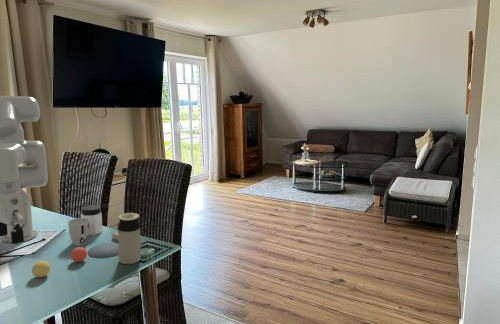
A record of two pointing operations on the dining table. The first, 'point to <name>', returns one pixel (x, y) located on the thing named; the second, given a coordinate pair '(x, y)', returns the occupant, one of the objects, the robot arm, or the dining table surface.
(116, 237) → the wooden stick
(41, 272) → the ochre ball
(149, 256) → the dining table surface
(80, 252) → the red ball
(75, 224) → the cup
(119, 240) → the travel mug
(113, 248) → the slate mark
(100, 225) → the jar
